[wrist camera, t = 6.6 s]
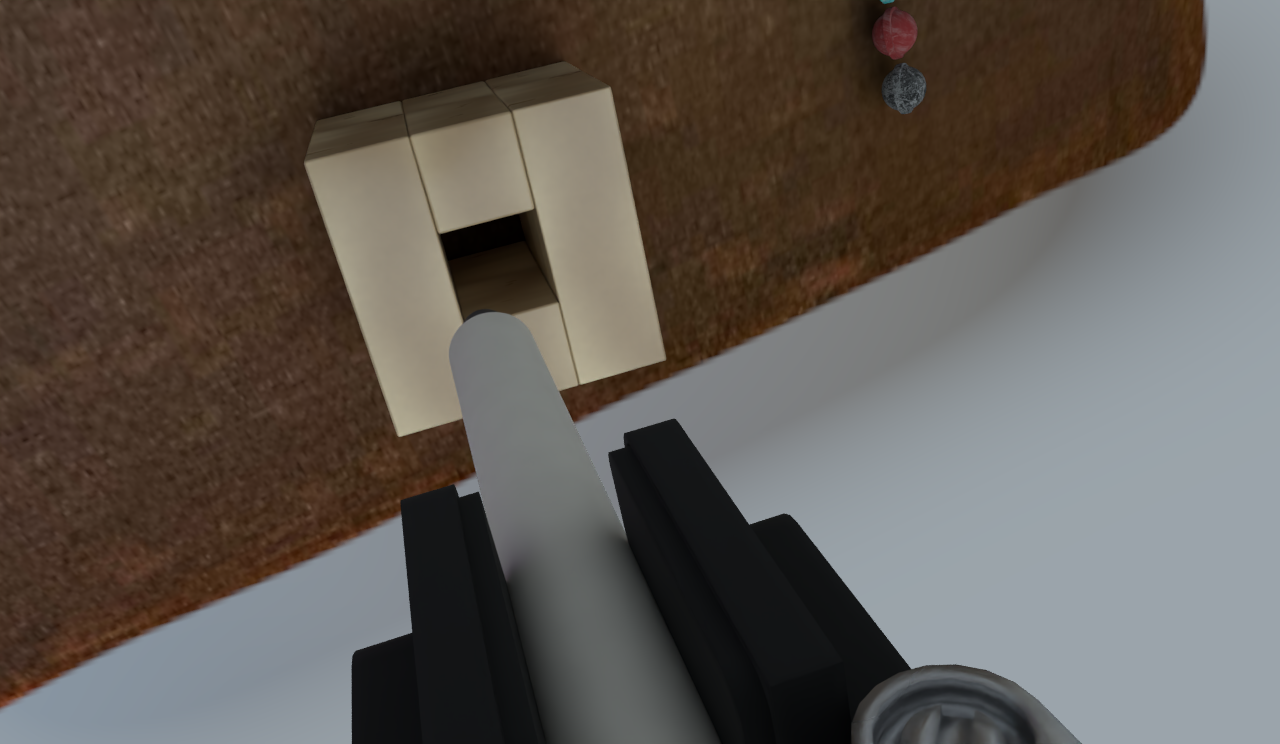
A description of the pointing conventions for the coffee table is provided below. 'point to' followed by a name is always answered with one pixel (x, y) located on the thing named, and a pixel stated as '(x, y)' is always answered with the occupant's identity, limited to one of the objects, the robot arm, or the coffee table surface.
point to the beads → (893, 40)
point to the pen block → (473, 194)
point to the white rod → (566, 555)
